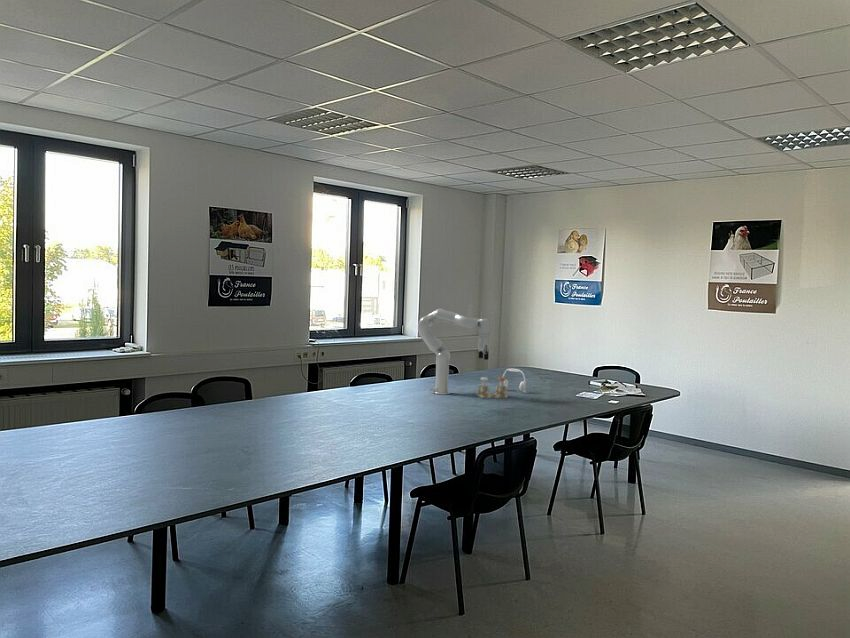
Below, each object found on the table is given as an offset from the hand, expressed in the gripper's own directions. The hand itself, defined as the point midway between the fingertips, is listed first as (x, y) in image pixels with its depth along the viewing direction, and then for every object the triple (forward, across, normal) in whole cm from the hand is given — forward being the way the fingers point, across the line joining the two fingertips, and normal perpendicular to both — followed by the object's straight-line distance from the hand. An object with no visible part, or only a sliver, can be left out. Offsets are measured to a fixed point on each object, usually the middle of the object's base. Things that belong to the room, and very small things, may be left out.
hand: (483, 358), depth 466 cm
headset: (+28, -16, +33) cm, 46 cm away
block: (+28, +3, +6) cm, 28 cm away
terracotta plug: (+22, +3, +13) cm, 26 cm away
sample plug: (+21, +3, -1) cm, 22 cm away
